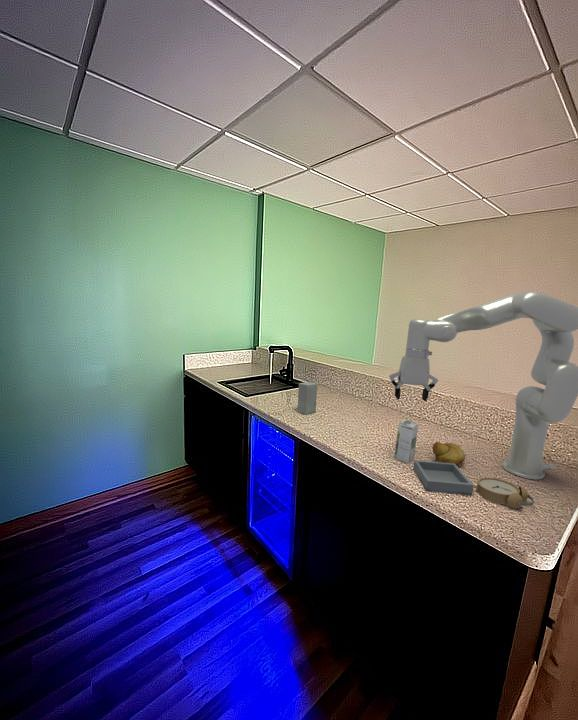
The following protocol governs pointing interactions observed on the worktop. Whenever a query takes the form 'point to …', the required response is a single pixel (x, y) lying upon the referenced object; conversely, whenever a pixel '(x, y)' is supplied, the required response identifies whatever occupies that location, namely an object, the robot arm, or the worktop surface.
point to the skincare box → (307, 397)
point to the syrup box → (406, 441)
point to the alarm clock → (503, 492)
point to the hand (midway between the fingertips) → (410, 399)
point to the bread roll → (448, 453)
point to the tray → (442, 477)
